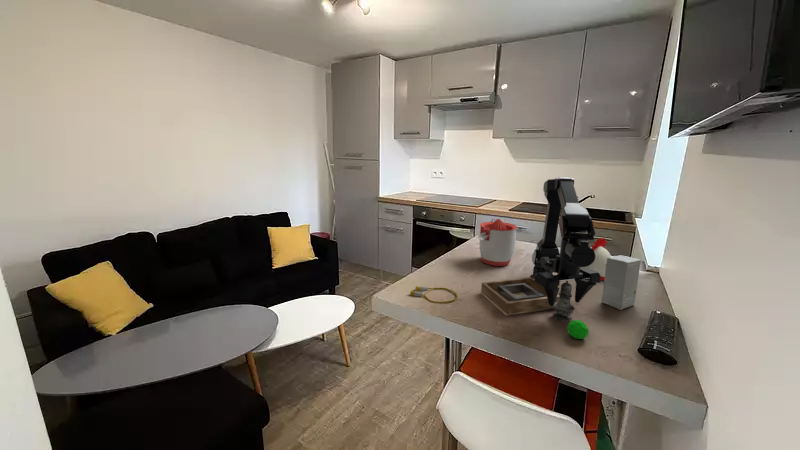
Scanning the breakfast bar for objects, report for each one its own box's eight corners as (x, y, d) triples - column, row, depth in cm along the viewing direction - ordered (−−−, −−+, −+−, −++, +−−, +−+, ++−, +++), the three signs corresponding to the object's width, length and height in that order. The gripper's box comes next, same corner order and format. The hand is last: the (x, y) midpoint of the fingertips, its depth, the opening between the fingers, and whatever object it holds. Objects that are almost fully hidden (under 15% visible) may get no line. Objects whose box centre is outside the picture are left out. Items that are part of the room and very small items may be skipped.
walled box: (530, 287, 118) (531, 277, 117) (561, 307, 103) (563, 296, 102) (481, 293, 113) (481, 282, 112) (506, 315, 98) (507, 303, 97)
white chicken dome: (622, 276, 128) (628, 241, 125) (600, 283, 122) (606, 245, 119) (589, 265, 140) (593, 232, 137) (567, 270, 134) (572, 236, 131)
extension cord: (426, 284, 122) (426, 279, 121) (463, 296, 112) (463, 291, 111) (406, 295, 113) (406, 290, 112) (445, 309, 103) (445, 304, 102)
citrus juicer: (467, 259, 147) (469, 217, 143) (497, 254, 154) (500, 214, 150) (490, 271, 133) (493, 224, 129) (521, 265, 141) (526, 220, 136)
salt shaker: (547, 312, 100) (552, 276, 97) (565, 311, 101) (570, 276, 98) (558, 322, 94) (563, 284, 92) (577, 321, 95) (583, 284, 92)
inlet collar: (523, 290, 114) (524, 282, 114) (543, 304, 105) (544, 295, 104) (497, 293, 112) (498, 285, 111) (515, 307, 102) (515, 299, 101)
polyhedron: (562, 333, 89) (564, 318, 88) (576, 331, 90) (578, 315, 89) (576, 344, 84) (579, 327, 83) (591, 340, 86) (594, 324, 84)
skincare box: (620, 311, 101) (629, 263, 98) (598, 301, 107) (605, 256, 104) (635, 305, 105) (644, 259, 101) (613, 296, 111) (620, 253, 107)
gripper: (576, 244, 103) (569, 289, 106) (525, 248, 98) (520, 295, 102) (605, 255, 92) (597, 305, 96) (550, 261, 88) (544, 312, 91)
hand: (564, 303), depth 97 cm, fingers open, 9 cm apart
